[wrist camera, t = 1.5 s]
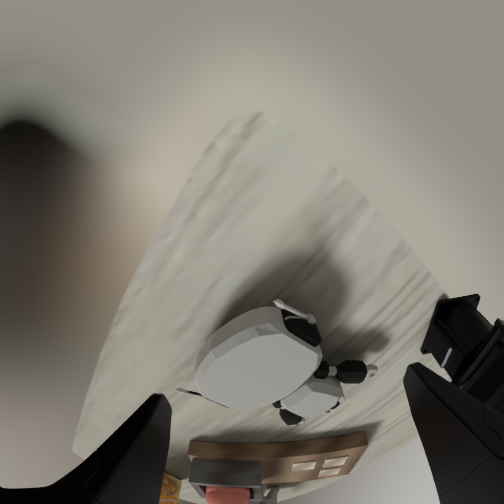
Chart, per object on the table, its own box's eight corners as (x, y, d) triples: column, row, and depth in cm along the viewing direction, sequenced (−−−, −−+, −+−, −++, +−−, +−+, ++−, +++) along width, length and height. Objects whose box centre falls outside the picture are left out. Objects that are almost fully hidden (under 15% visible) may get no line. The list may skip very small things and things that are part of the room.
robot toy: (375, 347, 24) (264, 265, 20) (392, 379, 20) (271, 301, 16) (290, 408, 28) (176, 356, 23) (295, 440, 24) (168, 394, 19)
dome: (249, 473, 27) (248, 510, 21) (251, 485, 29) (250, 517, 23) (204, 471, 27) (199, 507, 21) (211, 483, 29) (208, 515, 24)
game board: (364, 431, 29) (374, 467, 23) (346, 462, 33) (352, 492, 27) (190, 440, 30) (183, 479, 24) (205, 469, 34) (201, 500, 28)
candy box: (183, 480, 38) (173, 541, 23) (168, 480, 38) (157, 538, 24) (151, 463, 35) (135, 530, 20) (136, 463, 36) (120, 525, 21)
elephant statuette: (253, 477, 36) (250, 511, 29) (303, 486, 38) (304, 517, 30) (228, 486, 39) (224, 516, 32) (276, 496, 41) (275, 523, 34)
